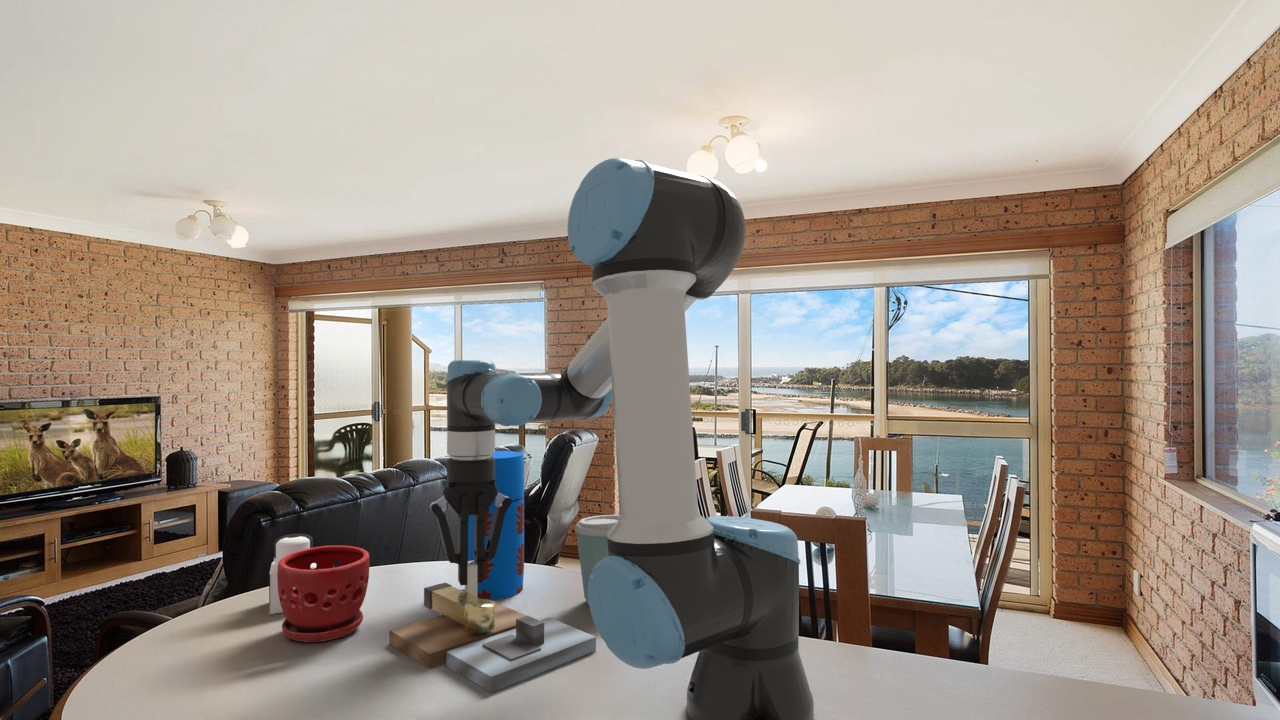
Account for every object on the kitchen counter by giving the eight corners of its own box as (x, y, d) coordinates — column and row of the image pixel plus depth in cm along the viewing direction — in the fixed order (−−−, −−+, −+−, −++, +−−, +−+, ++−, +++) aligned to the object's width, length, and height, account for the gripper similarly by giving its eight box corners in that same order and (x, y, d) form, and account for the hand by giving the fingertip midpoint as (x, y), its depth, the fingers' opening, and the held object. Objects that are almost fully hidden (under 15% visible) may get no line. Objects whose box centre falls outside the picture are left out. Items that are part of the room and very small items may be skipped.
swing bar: (500, 627, 104) (500, 604, 104) (475, 635, 100) (475, 611, 100) (446, 601, 114) (446, 581, 114) (422, 608, 111) (422, 587, 111)
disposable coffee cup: (563, 607, 120) (563, 520, 120) (591, 588, 129) (591, 508, 129) (619, 616, 115) (620, 526, 115) (644, 596, 125) (644, 513, 125)
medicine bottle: (271, 601, 123) (271, 533, 123) (316, 595, 126) (316, 529, 126) (269, 615, 116) (269, 543, 116) (316, 608, 119) (316, 538, 119)
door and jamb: (596, 650, 102) (596, 616, 102) (477, 697, 88) (477, 658, 88) (501, 609, 119) (501, 580, 119) (389, 643, 104) (389, 610, 104)
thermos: (510, 601, 123) (510, 459, 123) (454, 597, 125) (454, 457, 125) (532, 582, 133) (532, 451, 133) (480, 578, 135) (480, 450, 135)
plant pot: (257, 644, 104) (257, 564, 104) (317, 613, 117) (317, 542, 117) (332, 653, 101) (332, 570, 101) (386, 620, 114) (386, 547, 114)
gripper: (505, 451, 117) (505, 591, 117) (425, 455, 112) (425, 602, 112) (517, 457, 111) (517, 605, 111) (432, 462, 105) (432, 618, 105)
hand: (470, 603), depth 111 cm, fingers closed
